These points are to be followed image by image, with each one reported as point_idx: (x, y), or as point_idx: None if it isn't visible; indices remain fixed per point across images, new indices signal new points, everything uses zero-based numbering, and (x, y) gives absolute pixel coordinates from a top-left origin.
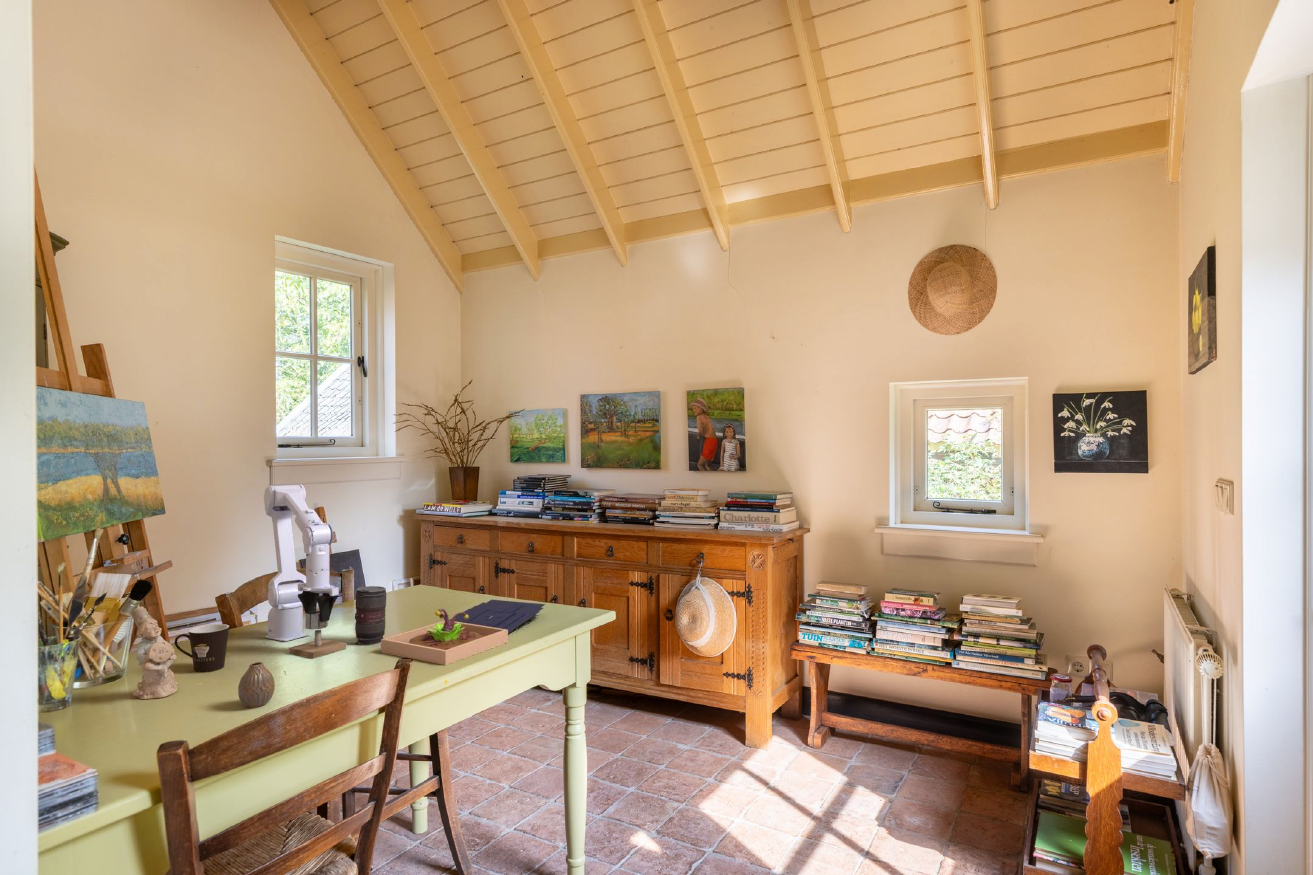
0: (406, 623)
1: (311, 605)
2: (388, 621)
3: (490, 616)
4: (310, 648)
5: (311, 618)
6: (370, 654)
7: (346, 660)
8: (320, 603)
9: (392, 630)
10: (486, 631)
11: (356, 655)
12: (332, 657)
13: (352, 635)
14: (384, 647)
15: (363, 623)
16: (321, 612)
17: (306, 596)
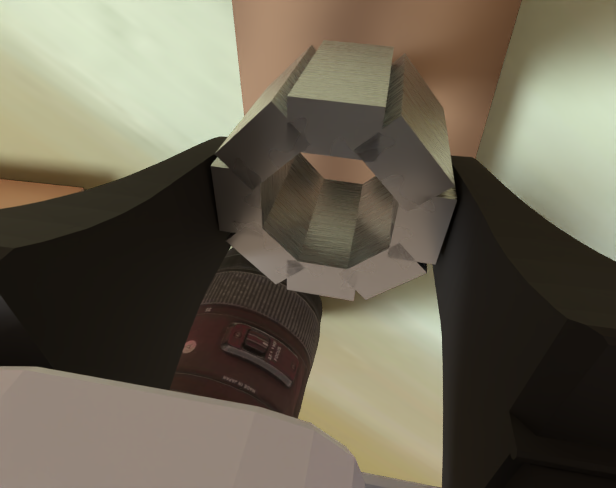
0: (358, 436)
1: (458, 289)
2: (438, 446)
3: None
4: (345, 11)
5: (282, 86)
6: (82, 148)
7: (51, 16)
8: (38, 209)
9: (331, 385)
10: None
11: (110, 109)
12: (166, 20)
13: (425, 322)
14: (46, 198)
15: (200, 310)
16: (153, 165)
17: (510, 366)
